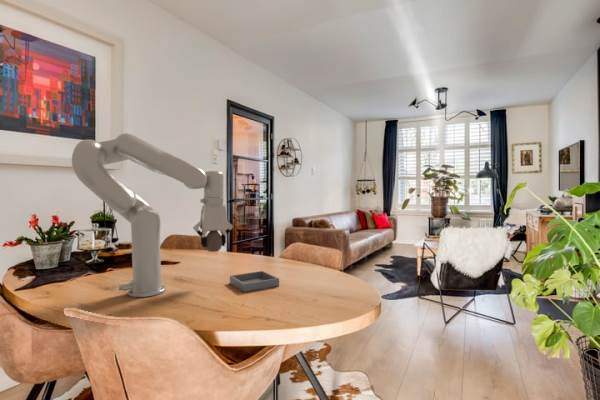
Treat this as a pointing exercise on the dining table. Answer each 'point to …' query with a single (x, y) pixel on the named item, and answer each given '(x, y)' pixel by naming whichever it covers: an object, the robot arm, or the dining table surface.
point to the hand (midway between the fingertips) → (213, 245)
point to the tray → (254, 281)
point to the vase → (213, 241)
